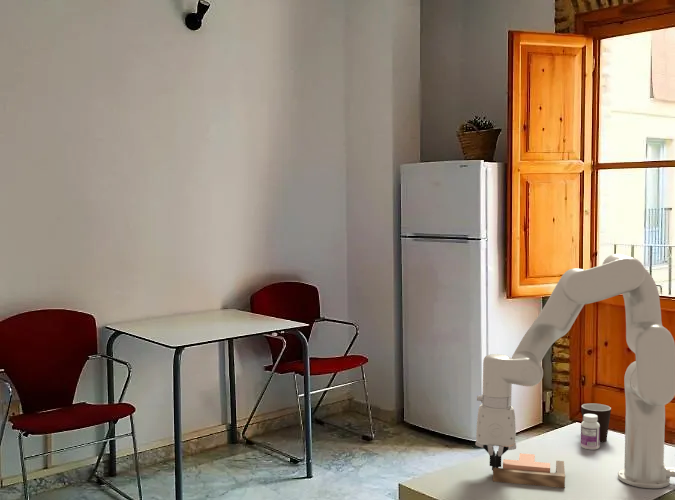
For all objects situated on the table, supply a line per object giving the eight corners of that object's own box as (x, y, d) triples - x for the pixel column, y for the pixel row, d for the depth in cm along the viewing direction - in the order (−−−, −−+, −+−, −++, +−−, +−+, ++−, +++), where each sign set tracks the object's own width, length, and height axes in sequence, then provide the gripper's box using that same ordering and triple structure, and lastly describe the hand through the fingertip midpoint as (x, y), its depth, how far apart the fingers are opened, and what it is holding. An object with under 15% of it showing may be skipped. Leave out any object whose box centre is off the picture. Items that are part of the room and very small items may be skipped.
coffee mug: (612, 444, 231) (613, 411, 230) (582, 442, 232) (583, 410, 232) (606, 433, 242) (607, 401, 241) (578, 431, 244) (579, 400, 243)
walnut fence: (563, 472, 207) (563, 461, 207) (564, 488, 195) (565, 476, 195) (495, 466, 212) (495, 455, 211) (492, 481, 200) (492, 470, 200)
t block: (549, 470, 208) (549, 455, 208) (550, 483, 199) (550, 468, 198) (504, 466, 211) (504, 452, 211) (502, 478, 202) (502, 464, 202)
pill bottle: (586, 443, 232) (587, 411, 231) (602, 447, 228) (603, 415, 227) (577, 447, 228) (577, 415, 228) (593, 451, 224) (594, 418, 224)
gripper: (467, 402, 202) (465, 471, 204) (525, 407, 198) (523, 476, 200) (469, 396, 210) (468, 461, 211) (526, 400, 206) (524, 467, 207)
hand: (495, 468), depth 205 cm, fingers closed
